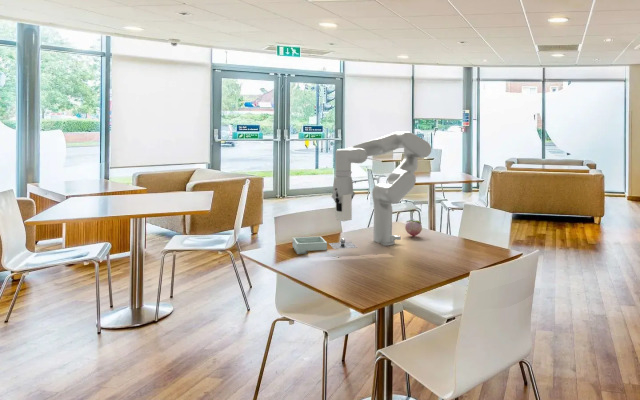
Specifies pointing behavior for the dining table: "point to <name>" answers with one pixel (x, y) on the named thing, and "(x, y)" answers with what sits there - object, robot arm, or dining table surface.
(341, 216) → the light grey block
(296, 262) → the dining table surface
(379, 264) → the dining table surface
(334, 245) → the stud base
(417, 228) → the decorative fruit
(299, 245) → the bin
